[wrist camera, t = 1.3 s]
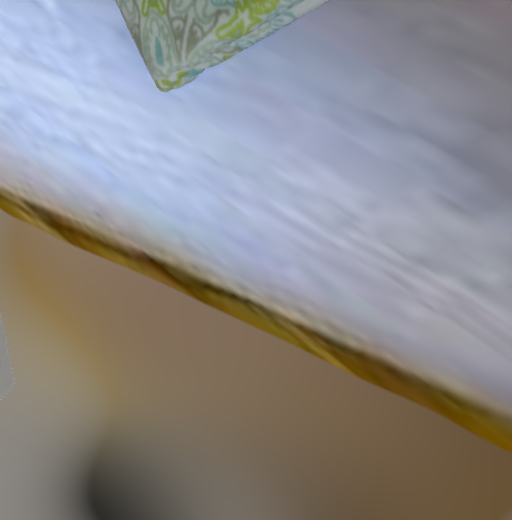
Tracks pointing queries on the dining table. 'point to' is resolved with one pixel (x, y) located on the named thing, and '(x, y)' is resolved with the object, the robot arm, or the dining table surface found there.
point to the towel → (202, 32)
